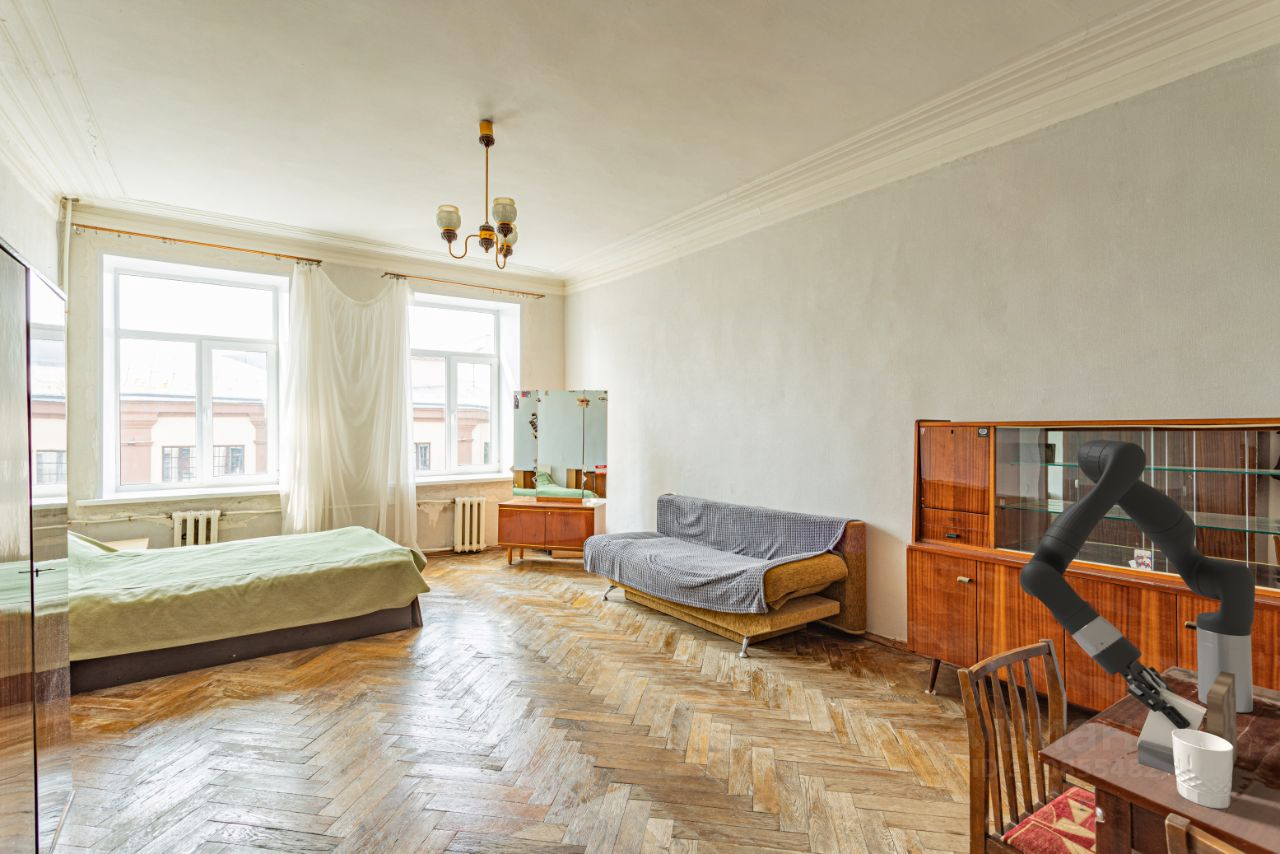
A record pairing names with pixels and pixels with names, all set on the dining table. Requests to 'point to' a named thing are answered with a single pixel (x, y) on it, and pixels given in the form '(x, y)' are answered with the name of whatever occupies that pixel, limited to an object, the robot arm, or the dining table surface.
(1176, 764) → the white cup
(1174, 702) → the plain white rectangular block
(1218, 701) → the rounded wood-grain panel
